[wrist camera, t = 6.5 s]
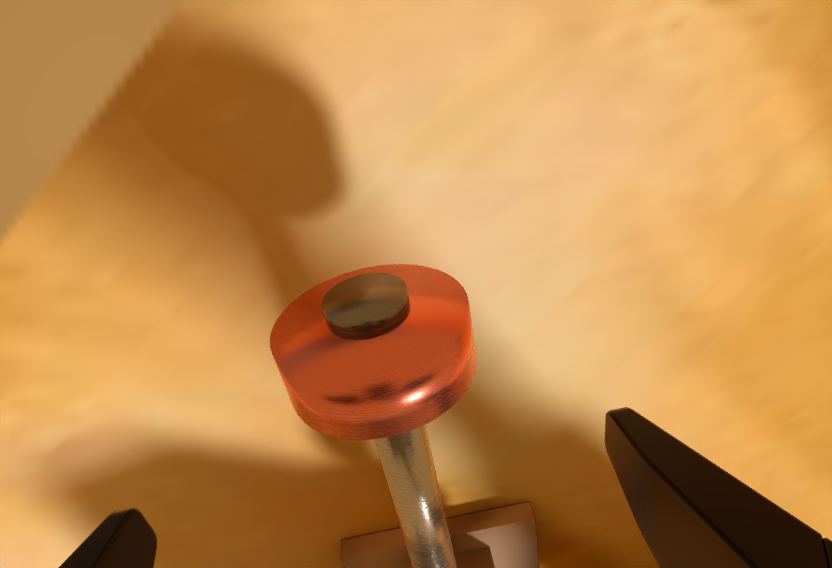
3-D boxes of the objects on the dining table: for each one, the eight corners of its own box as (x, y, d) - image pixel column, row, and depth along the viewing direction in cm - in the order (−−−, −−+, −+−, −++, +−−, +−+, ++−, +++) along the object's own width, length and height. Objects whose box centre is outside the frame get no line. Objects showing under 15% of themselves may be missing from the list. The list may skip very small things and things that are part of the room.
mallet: (447, 233, 15) (487, 332, 11) (495, 550, 23) (529, 683, 19) (277, 267, 15) (244, 381, 11) (384, 573, 23) (391, 711, 19)
